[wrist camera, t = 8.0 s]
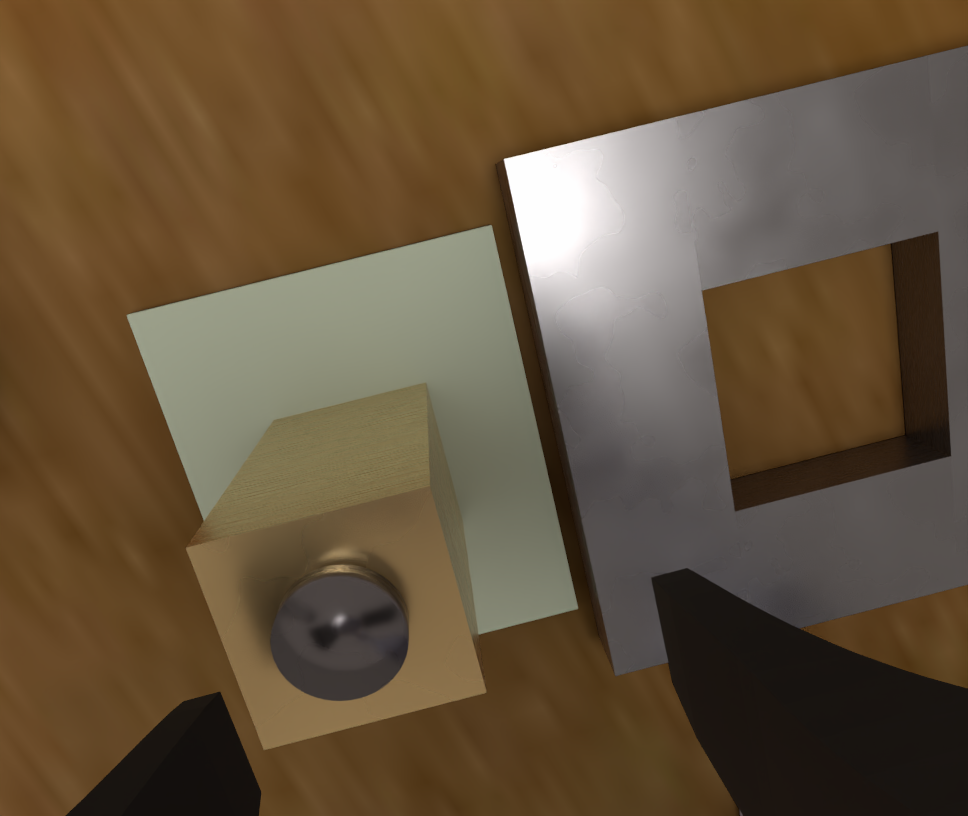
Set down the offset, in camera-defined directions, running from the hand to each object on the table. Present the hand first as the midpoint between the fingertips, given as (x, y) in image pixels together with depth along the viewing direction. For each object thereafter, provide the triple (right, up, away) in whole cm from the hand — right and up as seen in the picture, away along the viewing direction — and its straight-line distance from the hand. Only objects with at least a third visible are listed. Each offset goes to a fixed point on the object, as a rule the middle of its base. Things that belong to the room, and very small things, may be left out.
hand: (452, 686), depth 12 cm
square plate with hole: (+10, +6, +10) cm, 15 cm away
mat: (-3, +3, +10) cm, 10 cm away
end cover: (-3, +3, +9) cm, 10 cm away
